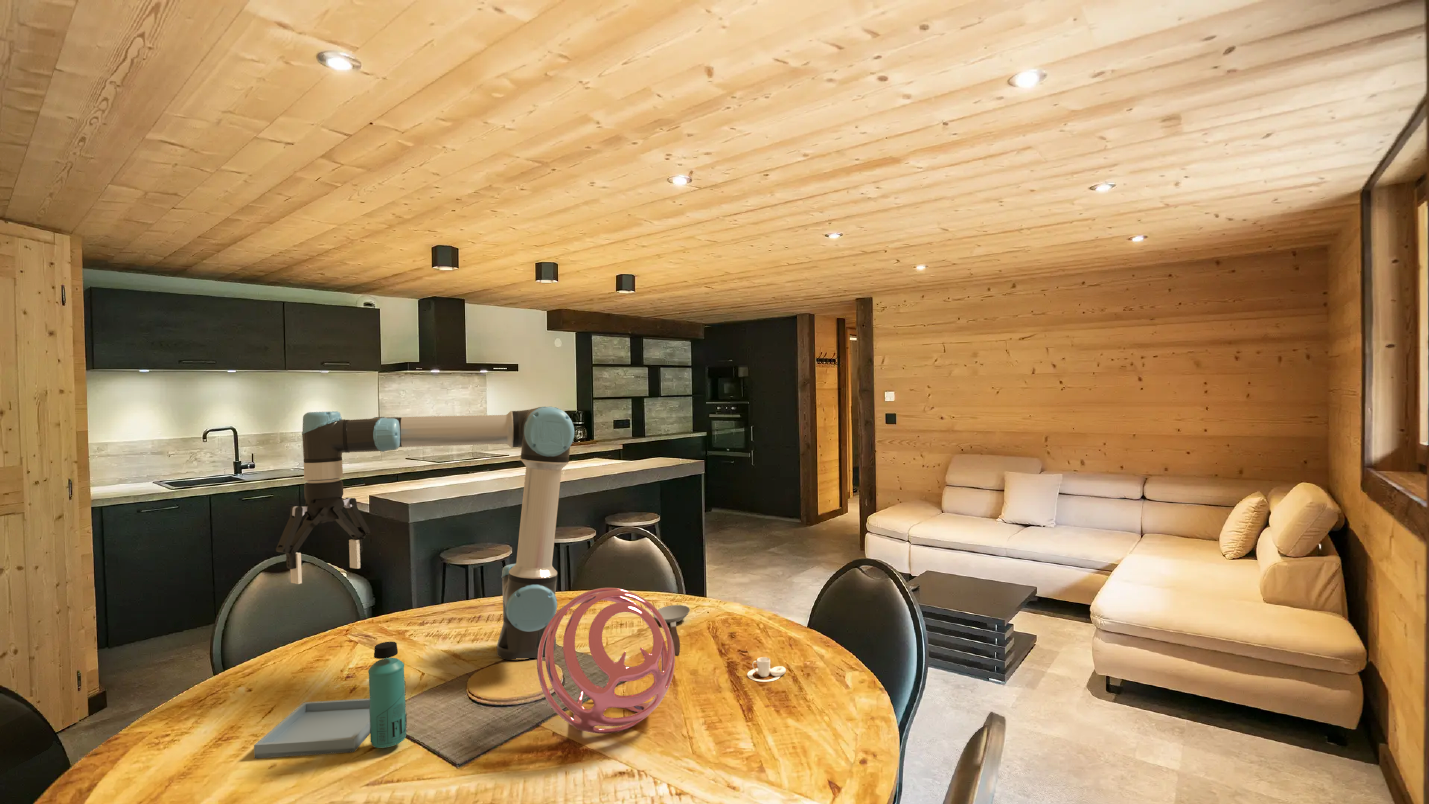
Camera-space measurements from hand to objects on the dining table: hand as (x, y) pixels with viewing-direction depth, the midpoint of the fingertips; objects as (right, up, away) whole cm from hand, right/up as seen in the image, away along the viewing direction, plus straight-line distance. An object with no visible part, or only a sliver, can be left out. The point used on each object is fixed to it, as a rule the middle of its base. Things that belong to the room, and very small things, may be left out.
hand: (326, 575), depth 152 cm
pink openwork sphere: (+66, -27, -14) cm, 72 cm away
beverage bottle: (+24, -28, -21) cm, 43 cm away
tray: (+9, -28, -15) cm, 33 cm away
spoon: (+75, -27, +38) cm, 88 cm away
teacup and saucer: (+100, -26, +6) cm, 104 cm away
